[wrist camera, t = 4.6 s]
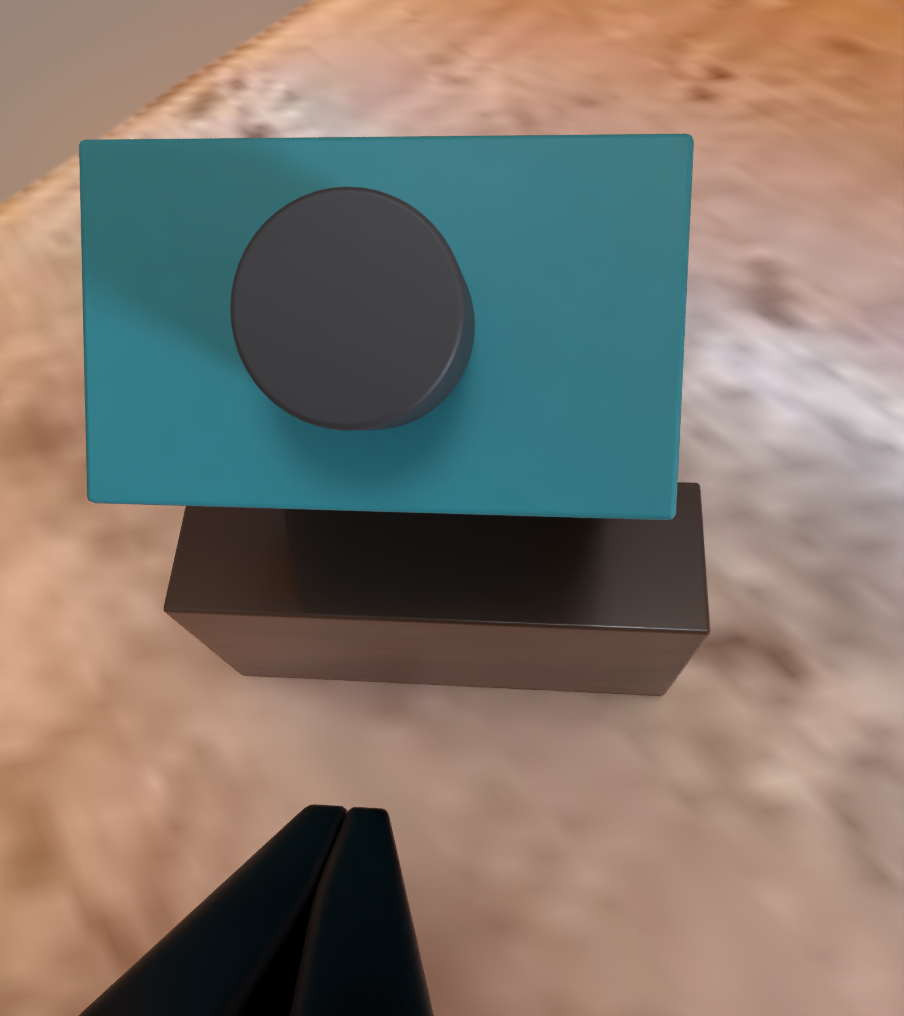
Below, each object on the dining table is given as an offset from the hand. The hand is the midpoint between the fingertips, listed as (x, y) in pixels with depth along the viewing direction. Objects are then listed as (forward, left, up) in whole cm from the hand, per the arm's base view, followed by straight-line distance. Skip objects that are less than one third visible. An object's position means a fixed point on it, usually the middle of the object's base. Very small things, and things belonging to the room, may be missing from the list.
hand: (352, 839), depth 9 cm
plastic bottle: (+6, +6, -10) cm, 13 cm away
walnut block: (+4, +4, -10) cm, 12 cm away
